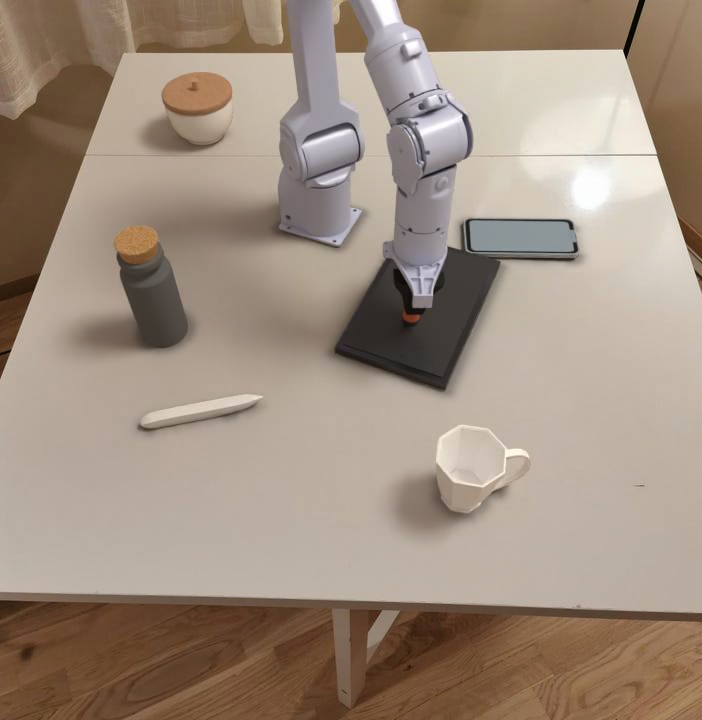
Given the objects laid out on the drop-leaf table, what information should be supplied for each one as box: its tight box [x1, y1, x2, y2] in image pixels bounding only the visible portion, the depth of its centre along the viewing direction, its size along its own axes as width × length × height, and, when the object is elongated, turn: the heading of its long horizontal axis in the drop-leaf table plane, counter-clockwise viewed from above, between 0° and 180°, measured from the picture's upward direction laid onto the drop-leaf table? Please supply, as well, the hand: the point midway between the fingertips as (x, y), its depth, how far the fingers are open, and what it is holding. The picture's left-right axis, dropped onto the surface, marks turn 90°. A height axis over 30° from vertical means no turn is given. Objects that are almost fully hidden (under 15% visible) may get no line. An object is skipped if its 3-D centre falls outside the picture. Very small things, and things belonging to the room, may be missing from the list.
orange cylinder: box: [403, 310, 420, 326], centre depth 83 cm, size 2×2×8 cm
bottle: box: [113, 225, 189, 349], centre depth 82 cm, size 6×6×15 cm
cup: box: [434, 423, 531, 514], centre depth 70 cm, size 7×10×8 cm
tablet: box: [334, 245, 502, 392], centre depth 89 cm, size 14×22×1 cm, turn 156°
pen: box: [139, 393, 264, 429], centre depth 79 cm, size 2×14×2 cm, turn 102°
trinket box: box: [160, 71, 234, 146], centre depth 110 cm, size 11×11×9 cm
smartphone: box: [462, 217, 581, 259], centre depth 96 cm, size 7×1×15 cm
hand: (413, 304), depth 84 cm, fingers closed on orange cylinder, 2 cm apart
